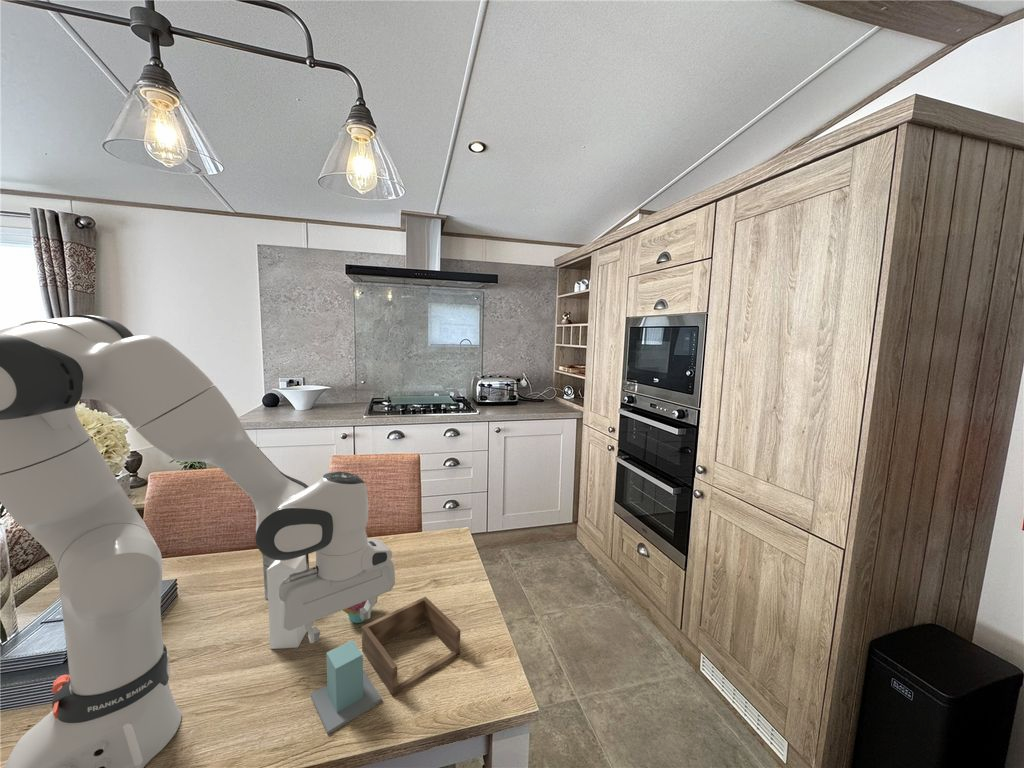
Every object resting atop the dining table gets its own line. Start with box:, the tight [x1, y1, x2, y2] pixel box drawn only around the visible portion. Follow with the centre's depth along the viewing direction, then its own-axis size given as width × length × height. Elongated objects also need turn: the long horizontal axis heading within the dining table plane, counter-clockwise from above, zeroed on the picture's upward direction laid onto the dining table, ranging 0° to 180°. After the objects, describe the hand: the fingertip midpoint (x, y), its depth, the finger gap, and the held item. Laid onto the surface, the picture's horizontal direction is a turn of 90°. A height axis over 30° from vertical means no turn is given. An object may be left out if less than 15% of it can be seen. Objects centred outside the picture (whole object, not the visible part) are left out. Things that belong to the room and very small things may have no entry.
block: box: [326, 639, 364, 713], centre depth 77 cm, size 5×5×9 cm
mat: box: [310, 669, 383, 735], centre depth 77 cm, size 10×10×1 cm
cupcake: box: [342, 600, 378, 624], centre depth 99 cm, size 9×8×12 cm
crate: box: [361, 596, 461, 697], centre depth 89 cm, size 16×15×6 cm
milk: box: [267, 555, 308, 650], centre depth 91 cm, size 6×6×22 cm
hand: (340, 628), depth 76 cm, fingers open, 8 cm apart
